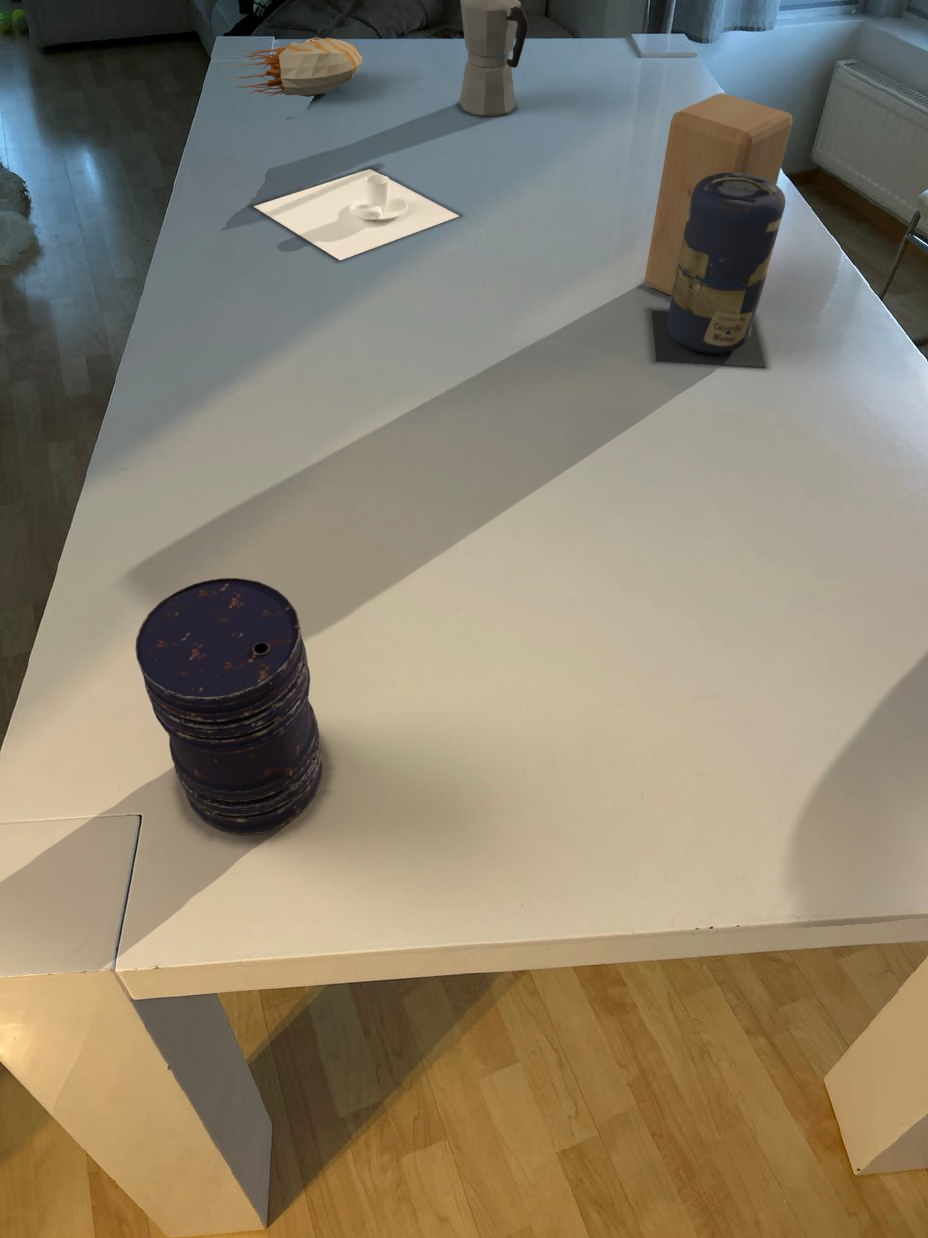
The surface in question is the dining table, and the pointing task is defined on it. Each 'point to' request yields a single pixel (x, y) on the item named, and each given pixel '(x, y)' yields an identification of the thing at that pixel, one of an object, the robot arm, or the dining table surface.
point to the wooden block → (710, 166)
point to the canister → (724, 260)
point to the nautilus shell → (308, 67)
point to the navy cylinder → (234, 702)
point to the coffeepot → (491, 54)
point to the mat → (677, 353)
